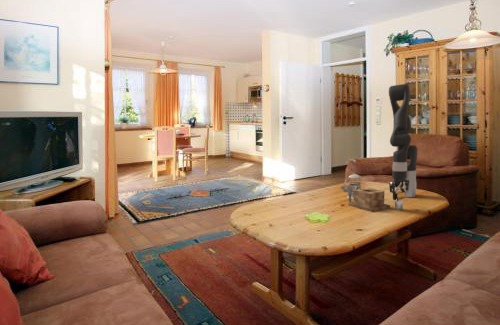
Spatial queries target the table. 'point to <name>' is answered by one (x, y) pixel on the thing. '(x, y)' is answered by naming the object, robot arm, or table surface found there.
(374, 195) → the hitch block
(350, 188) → the mechanical component
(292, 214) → the table surface
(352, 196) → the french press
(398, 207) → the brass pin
